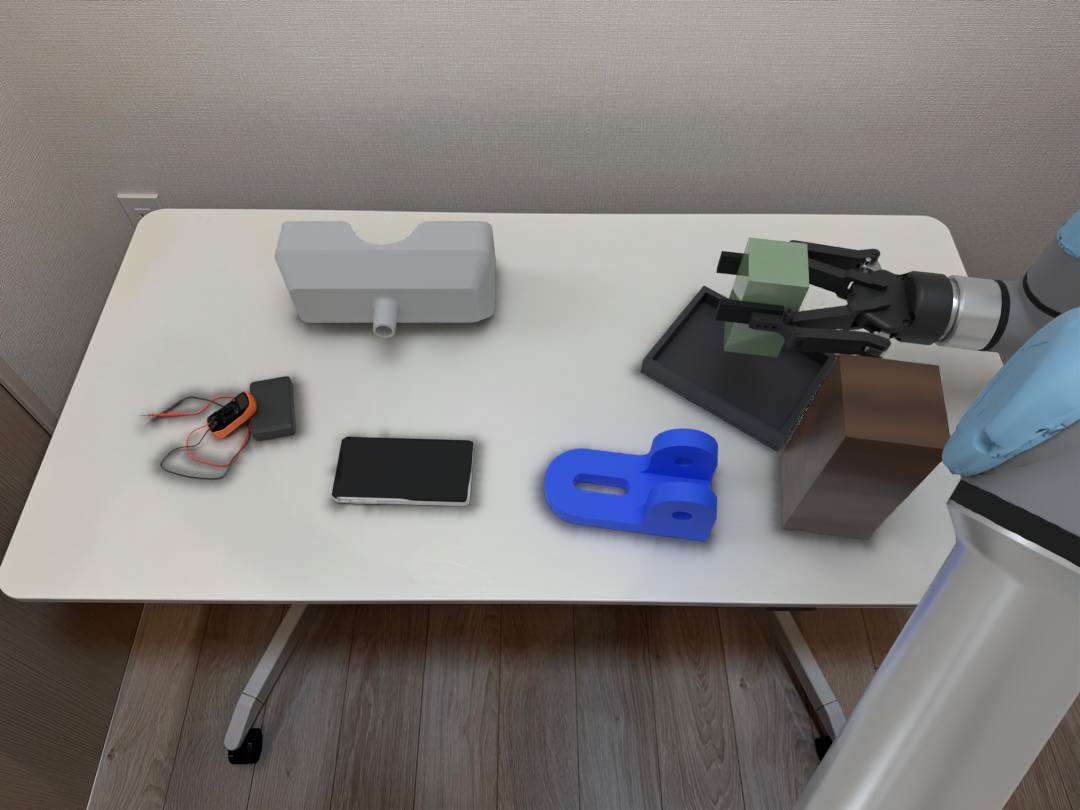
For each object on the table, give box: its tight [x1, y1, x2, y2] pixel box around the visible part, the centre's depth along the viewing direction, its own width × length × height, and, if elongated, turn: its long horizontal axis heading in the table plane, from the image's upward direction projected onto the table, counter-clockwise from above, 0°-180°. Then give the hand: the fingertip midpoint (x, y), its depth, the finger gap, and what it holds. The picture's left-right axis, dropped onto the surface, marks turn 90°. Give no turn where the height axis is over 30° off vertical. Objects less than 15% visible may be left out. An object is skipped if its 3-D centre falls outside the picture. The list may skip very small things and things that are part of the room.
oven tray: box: [640, 285, 839, 451], centre depth 93 cm, size 15×19×3 cm
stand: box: [780, 353, 951, 541], centre depth 77 cm, size 9×9×20 cm
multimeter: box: [139, 375, 296, 480], centre depth 87 cm, size 18×12×3 cm, turn 98°
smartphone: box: [331, 436, 475, 507], centre depth 86 cm, size 8×1×15 cm
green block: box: [724, 237, 810, 357], centre depth 83 cm, size 6×6×12 cm
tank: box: [274, 220, 497, 339], centre depth 93 cm, size 25×16×12 cm, turn 90°
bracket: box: [543, 427, 719, 542], centre depth 81 cm, size 18×8×9 cm, turn 82°
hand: (718, 285), depth 82 cm, fingers closed on green block, 6 cm apart
